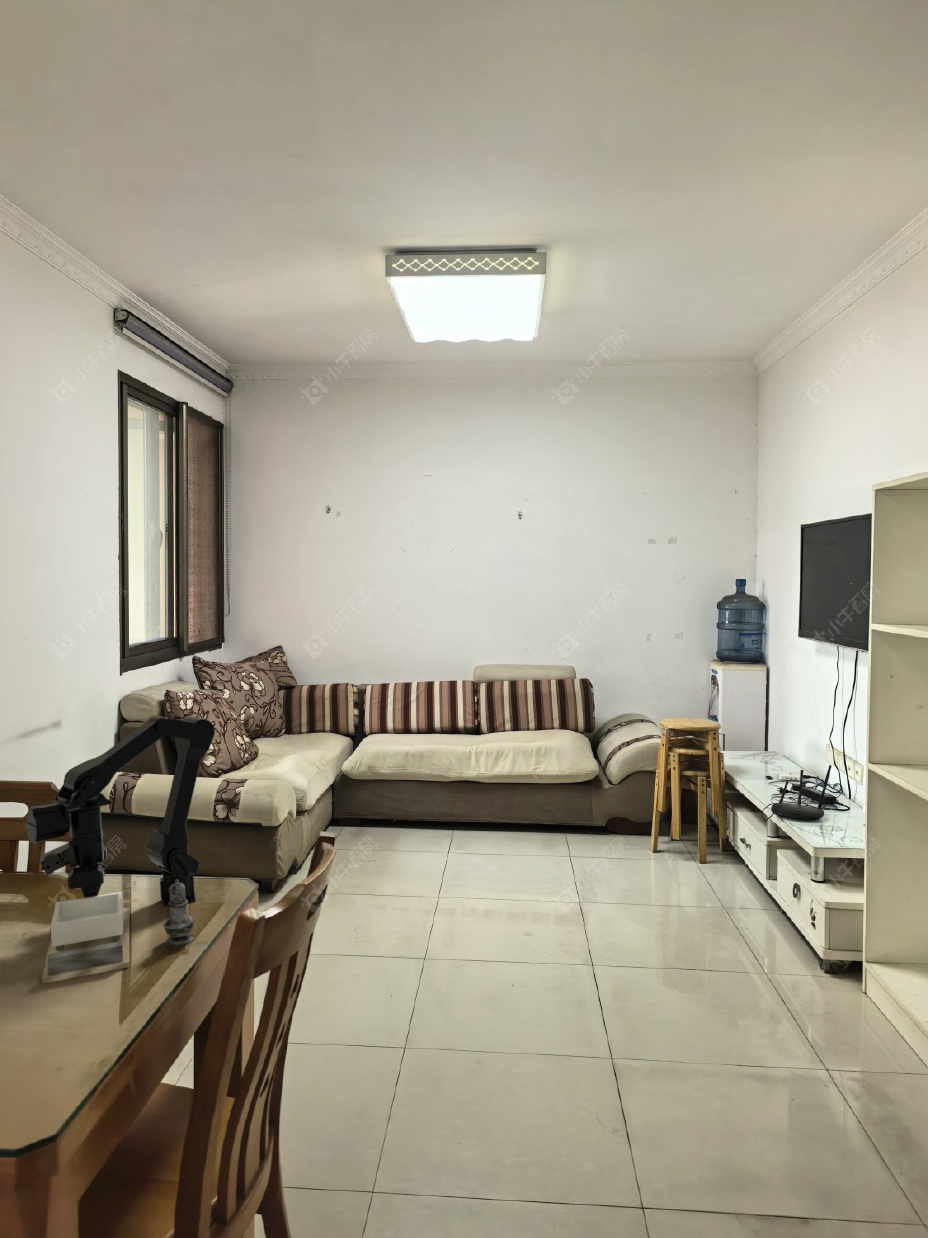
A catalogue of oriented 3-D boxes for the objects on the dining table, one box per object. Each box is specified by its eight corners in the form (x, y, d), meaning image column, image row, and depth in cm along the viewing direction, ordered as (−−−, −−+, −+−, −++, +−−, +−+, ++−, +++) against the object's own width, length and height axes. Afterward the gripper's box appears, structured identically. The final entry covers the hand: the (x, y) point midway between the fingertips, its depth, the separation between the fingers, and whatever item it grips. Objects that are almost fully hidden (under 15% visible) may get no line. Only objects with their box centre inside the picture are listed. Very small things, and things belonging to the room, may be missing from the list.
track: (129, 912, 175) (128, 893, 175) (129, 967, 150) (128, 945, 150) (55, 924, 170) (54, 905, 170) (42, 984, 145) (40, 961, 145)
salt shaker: (202, 935, 162) (199, 874, 162) (182, 948, 157) (179, 885, 156) (177, 932, 164) (173, 872, 164) (156, 945, 159) (153, 883, 158)
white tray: (123, 918, 169) (122, 891, 168) (123, 941, 158) (121, 913, 157) (57, 929, 164) (56, 902, 164) (52, 954, 153) (50, 925, 153)
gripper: (46, 823, 173) (50, 897, 174) (35, 850, 155) (40, 932, 156) (104, 816, 177) (109, 888, 178) (101, 841, 159) (105, 922, 160)
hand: (90, 907), depth 168 cm, fingers closed
